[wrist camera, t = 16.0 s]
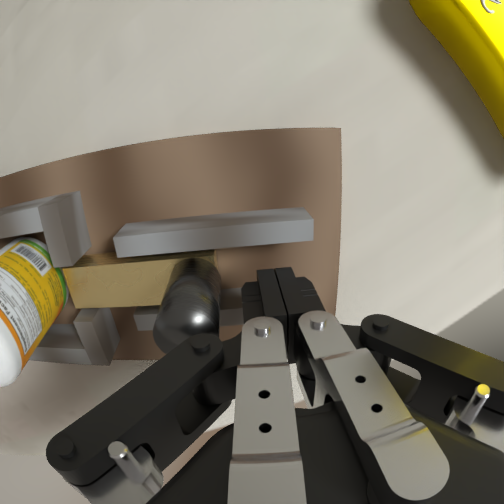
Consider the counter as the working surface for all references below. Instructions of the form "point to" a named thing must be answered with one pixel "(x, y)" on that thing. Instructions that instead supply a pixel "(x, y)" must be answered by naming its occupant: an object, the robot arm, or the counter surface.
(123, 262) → the locking bolt
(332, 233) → the docking base
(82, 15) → the counter surface
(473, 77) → the element tile
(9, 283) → the supplement bottle
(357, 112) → the counter surface
